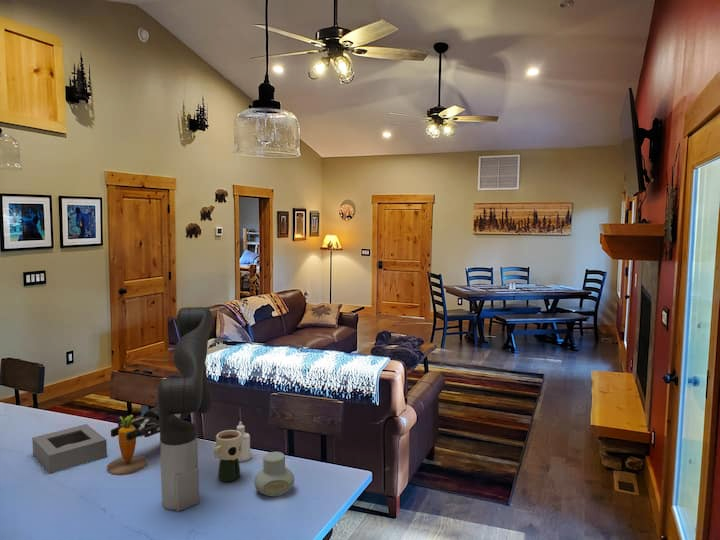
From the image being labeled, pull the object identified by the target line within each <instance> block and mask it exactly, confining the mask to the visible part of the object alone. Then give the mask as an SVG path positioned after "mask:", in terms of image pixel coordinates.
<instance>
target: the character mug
mask: <svg viewBox="0 0 720 540" xmlns="http://www.w3.org/2000/svg"><path fill="white" fill-rule="evenodd" d="M242 443H243V438H242V435H241V433H240V432H239V431H237V429H236V430H235V429H226V430H222V431H219V432H218V433H217V434H216V436H215V447H214V458H215V459H219V464H218V466H219V467H218V474H217V478H218V479H220V480H222V481H224V482H233V481H236V480H237V477H238V478H240V477H241V467H240V462H239V460H238V458H239V457H240V455H241V453H242Z"/></svg>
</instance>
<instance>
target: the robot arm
mask: <svg viewBox="0 0 720 540" xmlns="http://www.w3.org/2000/svg"><path fill="white" fill-rule="evenodd" d="M176 326H177V332H178V333H177V334H178V341H177V343H176V346H175V349H174V352H173V358H172V359H173V360H172V361H173V365H174V367H175V368H176V370H177V371H178V372H179V373H180V374H182V376H184V377H171V378H167V377H166V378H163V379H161V380H160V382H159V383H158V387H157V395H156V396H157V397H156V398H157V406H155V407H153V408H150V409H147V410H146V411H145V412H144V414H143V416H141V417H137V418H135V419H134V417H133V418H132V420H131V421H134V422H133V423H132V424H131V426H134V427H135V428H136V430H133V431H131V432H129V433H127V434H126V440H127V441H130V440H132V439H134V438H136V439H137V438H142V437H144V438H149V437H151V436H154V435H157V434H159V445H160V446H159V447H160V448H159V449H160V481H161V483H160V486H161V506H162V507H163V508H164V509H167V510H171V511H176V512H180V511H183V510H185V509H188V508H190V507H192V506H195V505H197V504H199V503H200V473H199V471H200V469H199V460H198V459H199V458H198V453H199V451H198V428H197V425H196V424H195V423H194V422H191V421H188V420H186V419H185V418H187V417H189V415H191V414H192V413H198V414H201V415H204V414H207V413H208V412H210V410H211V409H212V407H213V405H214V404H213V403H214V398H213V393H212V390H211V388H210V384H209V382H208V375H207V364H206V361H207V355H208V346H209V345H208V343H209V338H210V334H211V332H212V331H211V330H212V326H213V314H212V311H211V309H210V308H208V307H206V306H205V307H204V306H192V307H190V306H188V307H181V308H179V310H178V312H177V315H176ZM184 419H185V420H184ZM123 426H124V425H123V423H122V421H118V423H117V426H116V427H114V428H112V429H110V436H111V437H112V438H114V437H117V436H118V431H119V429H120V428H122V427H123Z"/></svg>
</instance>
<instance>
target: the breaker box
mask: <svg viewBox="0 0 720 540" xmlns="http://www.w3.org/2000/svg"><path fill="white" fill-rule="evenodd" d="M31 441H32V455H33V456H34V457H35V459H36V460H37V461H38V462H39V463H40V464H41V466H42V467H43V466H44V467H45V468H44V467H43V468H44V469H45V470H46V471H47V473H49V474H50V475H51V474H54V472H55V473H58V472H60V470H62V471H64V470H63V469H65V470H67V468H68V469H72V468H74V466H75V467H78V466H82V465H84V463H85V464H87V462H88V463H92V462H95V461H99V460H101V459H105V458H108V450H107V446H108V445H107V439H106V438H105V437H103V436H102V435H101V434H100V433H99V432H97V431H96V430H95V429H93V428H92V427H91V426H90V425H89V424H87V423H86V424H82V425H78V426H72V427H69V428H66V429H61V430H57V431H53V432H49V433H45V434H41V435H36V436H33V437H32V439H31ZM73 443H74V444H73ZM67 444H70V445H67ZM64 445H67V446H64ZM61 446H63V447H61ZM91 461H92V462H91ZM81 464H82V465H81ZM77 465H78V466H77ZM71 467H72V468H71ZM57 471H58V472H57Z"/></svg>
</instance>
